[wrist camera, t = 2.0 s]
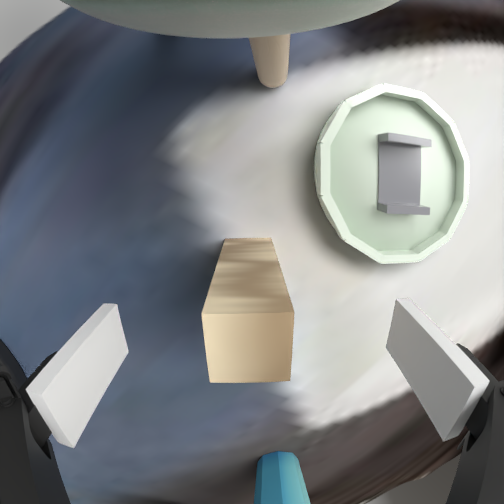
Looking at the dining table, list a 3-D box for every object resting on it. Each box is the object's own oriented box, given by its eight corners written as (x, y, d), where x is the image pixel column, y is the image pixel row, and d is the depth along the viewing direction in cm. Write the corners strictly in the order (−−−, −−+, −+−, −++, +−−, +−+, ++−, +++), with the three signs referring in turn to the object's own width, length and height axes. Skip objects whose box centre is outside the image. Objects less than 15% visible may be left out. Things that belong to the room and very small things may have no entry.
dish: (311, 258, 23) (319, 269, 20) (311, 81, 19) (318, 70, 16) (449, 254, 23) (465, 262, 20) (454, 107, 19) (471, 103, 16)
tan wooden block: (227, 281, 23) (209, 382, 12) (225, 238, 22) (201, 313, 11) (271, 280, 23) (290, 381, 12) (271, 237, 22) (294, 311, 11)
